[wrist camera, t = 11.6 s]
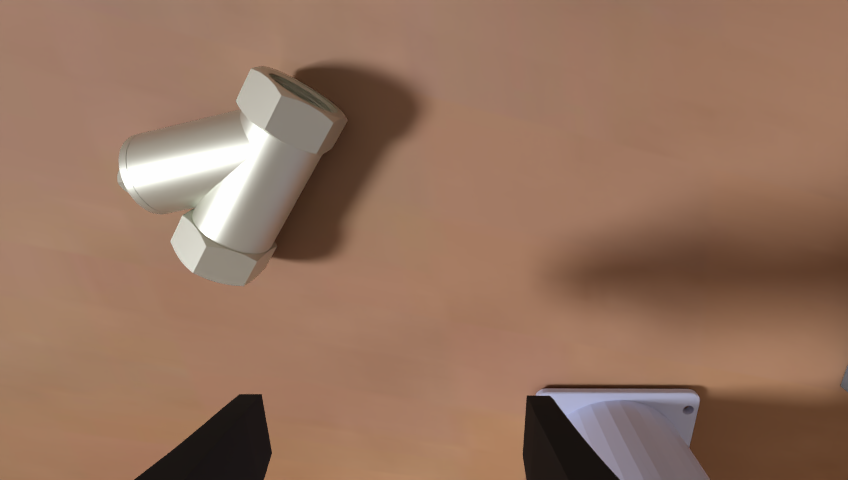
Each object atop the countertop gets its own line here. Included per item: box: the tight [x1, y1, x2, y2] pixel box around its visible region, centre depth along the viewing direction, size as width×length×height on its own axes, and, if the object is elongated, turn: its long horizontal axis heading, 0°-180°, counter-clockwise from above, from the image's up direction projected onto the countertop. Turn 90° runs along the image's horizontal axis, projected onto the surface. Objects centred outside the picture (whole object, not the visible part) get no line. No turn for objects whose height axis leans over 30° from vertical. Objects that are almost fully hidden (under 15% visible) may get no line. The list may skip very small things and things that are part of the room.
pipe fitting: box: [117, 66, 348, 286], centre depth 18 cm, size 8×4×7 cm
